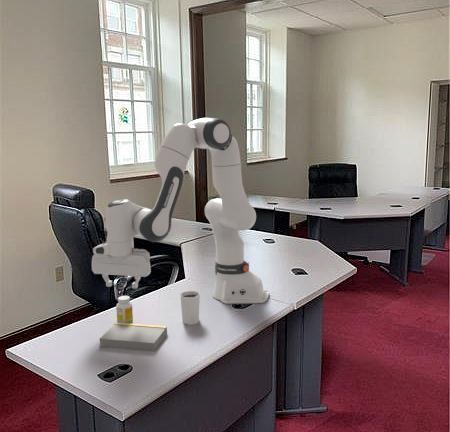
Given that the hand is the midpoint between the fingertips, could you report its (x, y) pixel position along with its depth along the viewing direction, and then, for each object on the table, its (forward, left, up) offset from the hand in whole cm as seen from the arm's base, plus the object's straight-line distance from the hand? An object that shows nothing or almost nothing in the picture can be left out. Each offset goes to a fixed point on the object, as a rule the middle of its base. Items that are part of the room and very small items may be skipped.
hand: (122, 287), depth 158 cm
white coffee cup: (-22, -6, -14) cm, 27 cm away
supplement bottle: (0, 0, -14) cm, 14 cm away
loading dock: (-8, +11, -14) cm, 19 cm away
